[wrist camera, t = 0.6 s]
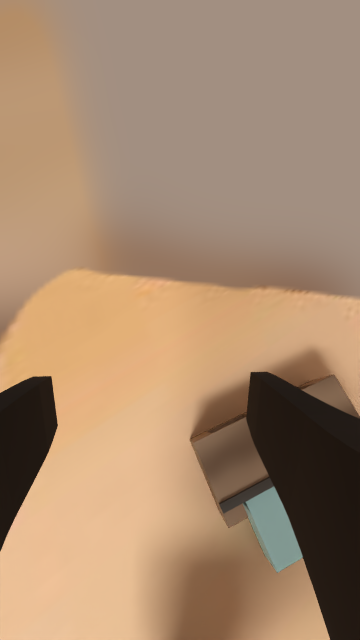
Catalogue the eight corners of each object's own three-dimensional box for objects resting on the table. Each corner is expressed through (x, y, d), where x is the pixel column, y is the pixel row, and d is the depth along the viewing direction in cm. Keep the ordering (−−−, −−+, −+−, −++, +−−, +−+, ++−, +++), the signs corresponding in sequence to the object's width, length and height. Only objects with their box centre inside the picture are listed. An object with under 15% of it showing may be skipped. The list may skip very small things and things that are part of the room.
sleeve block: (346, 443, 34) (381, 447, 28) (219, 512, 31) (230, 531, 25) (310, 381, 36) (336, 373, 31) (189, 439, 33) (193, 443, 28)
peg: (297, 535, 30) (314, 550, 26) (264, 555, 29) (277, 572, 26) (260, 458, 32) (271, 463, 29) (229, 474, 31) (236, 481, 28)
